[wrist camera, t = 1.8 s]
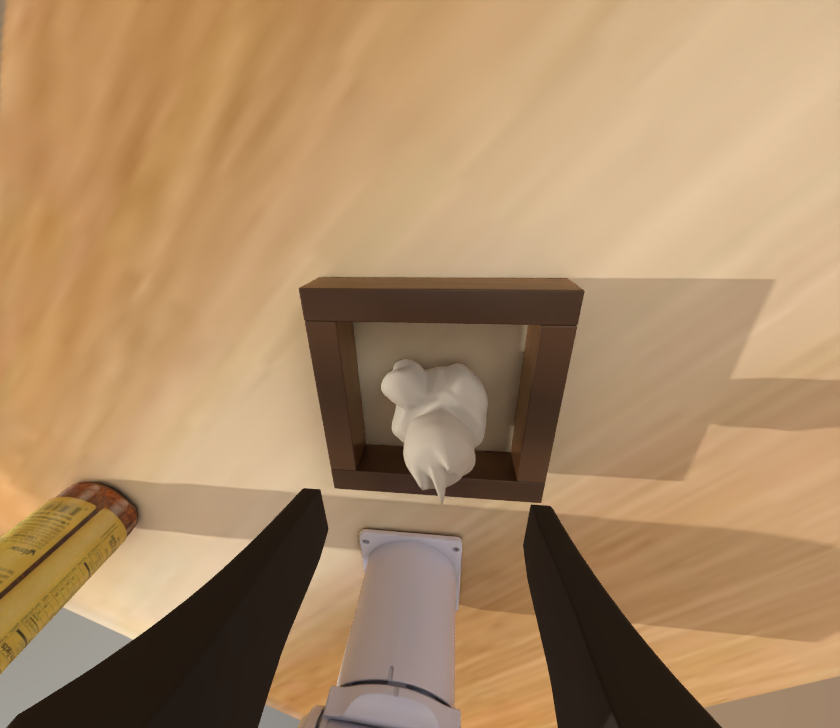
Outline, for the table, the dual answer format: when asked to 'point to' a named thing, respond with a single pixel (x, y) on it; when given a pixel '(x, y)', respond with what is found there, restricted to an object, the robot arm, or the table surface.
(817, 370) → the table surface
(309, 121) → the table surface
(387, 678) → the robot arm
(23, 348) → the table surface
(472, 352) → the table surface
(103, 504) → the sauce bottle
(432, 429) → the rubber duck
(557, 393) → the brown wooden square frame
